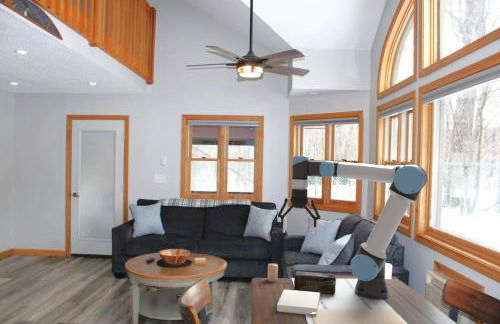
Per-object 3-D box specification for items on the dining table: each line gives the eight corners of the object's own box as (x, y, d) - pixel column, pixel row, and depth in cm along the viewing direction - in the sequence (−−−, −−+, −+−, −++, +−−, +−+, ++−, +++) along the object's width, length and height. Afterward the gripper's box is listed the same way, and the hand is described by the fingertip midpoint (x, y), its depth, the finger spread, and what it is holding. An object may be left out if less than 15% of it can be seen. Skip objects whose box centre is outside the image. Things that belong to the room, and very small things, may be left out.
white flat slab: (319, 299, 183) (319, 292, 183) (316, 316, 164) (317, 308, 164) (283, 295, 187) (284, 289, 187) (276, 311, 167) (277, 304, 167)
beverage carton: (334, 290, 195) (335, 295, 189) (294, 287, 199) (293, 291, 192) (335, 274, 195) (336, 277, 189) (294, 270, 199) (294, 274, 192)
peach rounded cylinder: (278, 279, 212) (278, 263, 212) (276, 282, 207) (276, 266, 207) (268, 278, 213) (268, 263, 213) (266, 281, 208) (267, 265, 208)
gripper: (326, 188, 197) (325, 233, 197) (274, 186, 202) (273, 229, 203) (325, 190, 190) (324, 236, 190) (272, 187, 195) (271, 232, 195)
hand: (298, 233), depth 196 cm, fingers open, 13 cm apart
